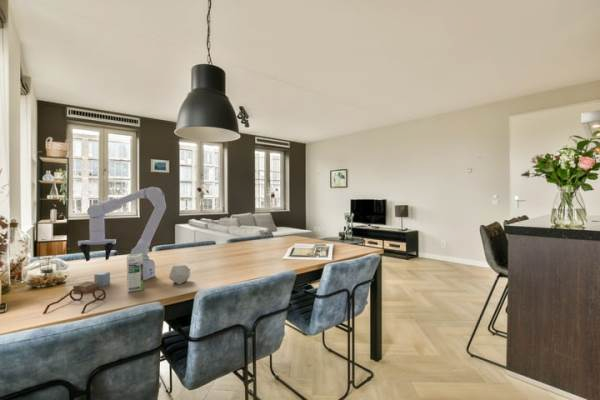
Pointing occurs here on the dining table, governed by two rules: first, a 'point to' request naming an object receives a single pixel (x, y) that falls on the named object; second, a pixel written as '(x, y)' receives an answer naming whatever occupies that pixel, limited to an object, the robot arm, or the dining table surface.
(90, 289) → the walnut slab
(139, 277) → the syrup box
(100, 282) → the slate cube
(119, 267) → the dining table surface
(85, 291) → the glasses
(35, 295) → the dining table surface
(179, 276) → the die
